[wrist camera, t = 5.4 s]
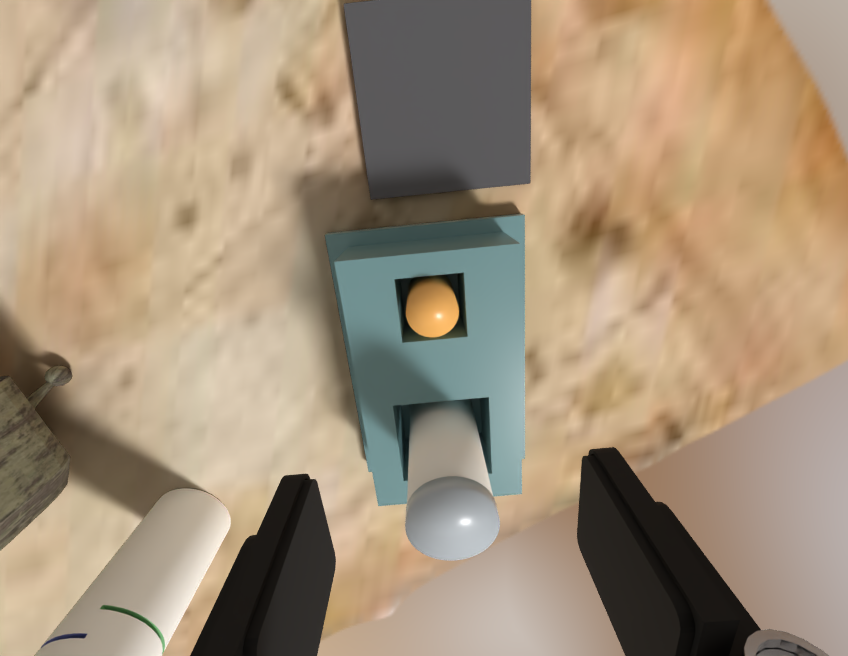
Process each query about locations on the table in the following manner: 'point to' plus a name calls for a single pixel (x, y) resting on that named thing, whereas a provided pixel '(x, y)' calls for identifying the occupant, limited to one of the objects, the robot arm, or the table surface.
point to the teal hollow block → (435, 339)
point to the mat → (442, 93)
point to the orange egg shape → (431, 305)
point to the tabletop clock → (28, 456)
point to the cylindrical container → (146, 581)
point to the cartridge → (448, 483)
